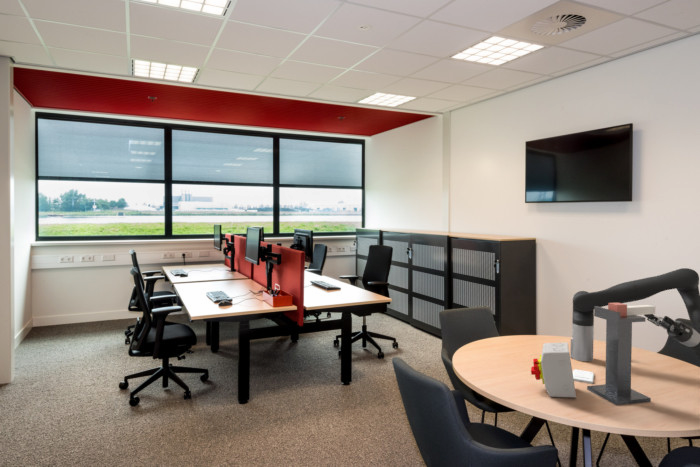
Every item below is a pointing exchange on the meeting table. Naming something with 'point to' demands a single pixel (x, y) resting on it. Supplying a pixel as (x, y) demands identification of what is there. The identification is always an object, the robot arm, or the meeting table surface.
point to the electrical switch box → (555, 370)
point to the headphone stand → (618, 359)
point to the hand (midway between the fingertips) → (654, 315)
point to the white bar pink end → (631, 309)
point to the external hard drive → (583, 376)
